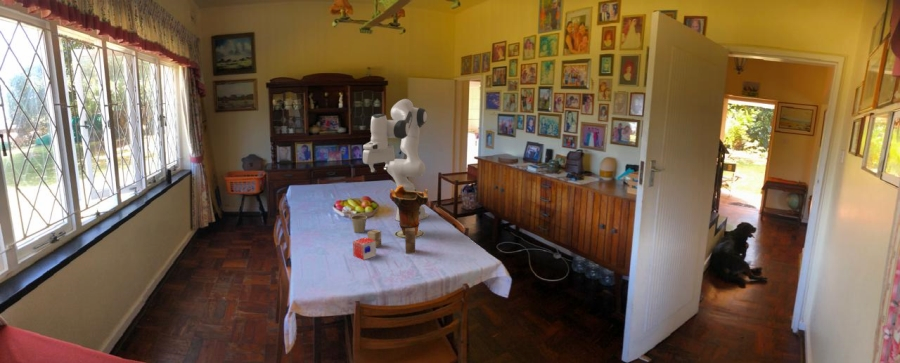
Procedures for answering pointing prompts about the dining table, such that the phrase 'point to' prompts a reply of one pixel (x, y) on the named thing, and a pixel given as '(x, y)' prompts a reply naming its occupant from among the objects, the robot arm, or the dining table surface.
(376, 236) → the oak block
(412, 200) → the decorative vase
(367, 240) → the red and cream cube
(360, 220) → the flower pot
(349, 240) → the dining table surface
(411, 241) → the walnut block
